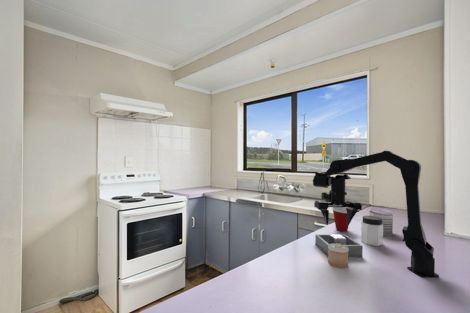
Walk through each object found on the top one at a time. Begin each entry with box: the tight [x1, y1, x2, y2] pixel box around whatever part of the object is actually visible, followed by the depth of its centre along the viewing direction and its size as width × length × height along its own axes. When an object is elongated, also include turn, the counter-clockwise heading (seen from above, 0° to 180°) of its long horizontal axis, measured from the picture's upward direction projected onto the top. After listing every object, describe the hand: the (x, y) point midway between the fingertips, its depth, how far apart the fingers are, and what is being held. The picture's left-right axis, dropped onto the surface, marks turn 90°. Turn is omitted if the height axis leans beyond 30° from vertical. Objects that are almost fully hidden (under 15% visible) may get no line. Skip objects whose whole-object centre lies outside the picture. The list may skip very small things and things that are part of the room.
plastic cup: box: [331, 207, 350, 233], centre depth 131 cm, size 11×11×12 cm
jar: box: [360, 215, 384, 247], centre depth 112 cm, size 9×8×12 cm
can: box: [368, 207, 395, 237], centre depth 129 cm, size 11×11×12 cm
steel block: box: [329, 234, 346, 245], centre depth 103 cm, size 5×5×5 cm
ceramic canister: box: [327, 243, 349, 269], centre depth 89 cm, size 7×7×7 cm
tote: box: [314, 233, 364, 258], centre depth 103 cm, size 14×14×4 cm
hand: (337, 224), depth 103 cm, fingers open, 9 cm apart
